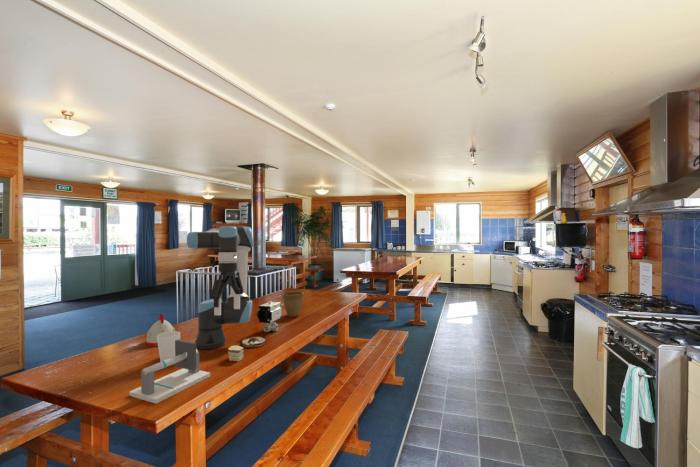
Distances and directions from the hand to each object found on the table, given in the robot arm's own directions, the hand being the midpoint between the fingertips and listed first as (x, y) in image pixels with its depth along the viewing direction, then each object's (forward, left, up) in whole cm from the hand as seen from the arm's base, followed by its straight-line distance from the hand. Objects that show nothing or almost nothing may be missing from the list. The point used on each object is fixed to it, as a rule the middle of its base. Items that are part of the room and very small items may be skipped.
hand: (227, 311), depth 145 cm
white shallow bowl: (-12, +31, -26) cm, 42 cm away
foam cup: (-30, -5, -25) cm, 39 cm away
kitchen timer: (-60, +14, -25) cm, 66 cm away
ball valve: (-18, +54, -25) cm, 62 cm away
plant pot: (-26, +90, -25) cm, 97 cm away
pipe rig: (-9, -20, -25) cm, 33 cm away
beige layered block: (-6, +11, -26) cm, 28 cm away
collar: (-9, -14, -20) cm, 26 cm away
